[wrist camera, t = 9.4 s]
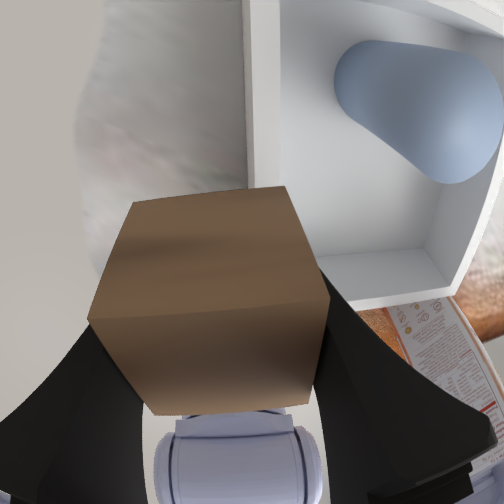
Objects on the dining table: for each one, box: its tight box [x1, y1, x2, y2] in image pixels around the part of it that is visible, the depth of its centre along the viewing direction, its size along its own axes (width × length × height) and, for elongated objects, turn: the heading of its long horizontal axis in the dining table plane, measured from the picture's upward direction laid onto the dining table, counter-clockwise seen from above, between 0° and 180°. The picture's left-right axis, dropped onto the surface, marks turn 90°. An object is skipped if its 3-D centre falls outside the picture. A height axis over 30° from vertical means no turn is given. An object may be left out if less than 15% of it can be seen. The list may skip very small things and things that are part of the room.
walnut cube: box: [87, 186, 330, 416], centre depth 9 cm, size 5×5×5 cm
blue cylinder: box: [334, 40, 504, 184], centre depth 11 cm, size 5×5×7 cm
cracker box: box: [382, 296, 504, 476], centre depth 19 cm, size 14×6×21 cm, turn 47°
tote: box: [242, 0, 504, 311], centre depth 14 cm, size 18×14×5 cm
